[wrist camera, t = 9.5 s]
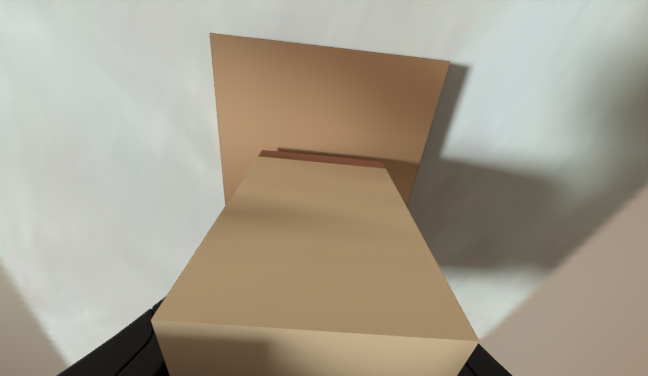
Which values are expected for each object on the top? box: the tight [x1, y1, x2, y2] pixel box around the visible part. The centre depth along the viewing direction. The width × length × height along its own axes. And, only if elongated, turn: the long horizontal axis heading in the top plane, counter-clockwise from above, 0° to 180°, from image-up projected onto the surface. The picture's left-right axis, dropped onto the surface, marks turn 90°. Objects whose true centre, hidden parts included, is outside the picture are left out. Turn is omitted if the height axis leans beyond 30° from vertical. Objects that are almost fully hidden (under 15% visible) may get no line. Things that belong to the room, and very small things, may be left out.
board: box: [210, 33, 450, 207], centre depth 11 cm, size 16×7×1 cm, turn 174°
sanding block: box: [151, 150, 479, 376], centre depth 7 cm, size 6×4×6 cm, turn 174°
